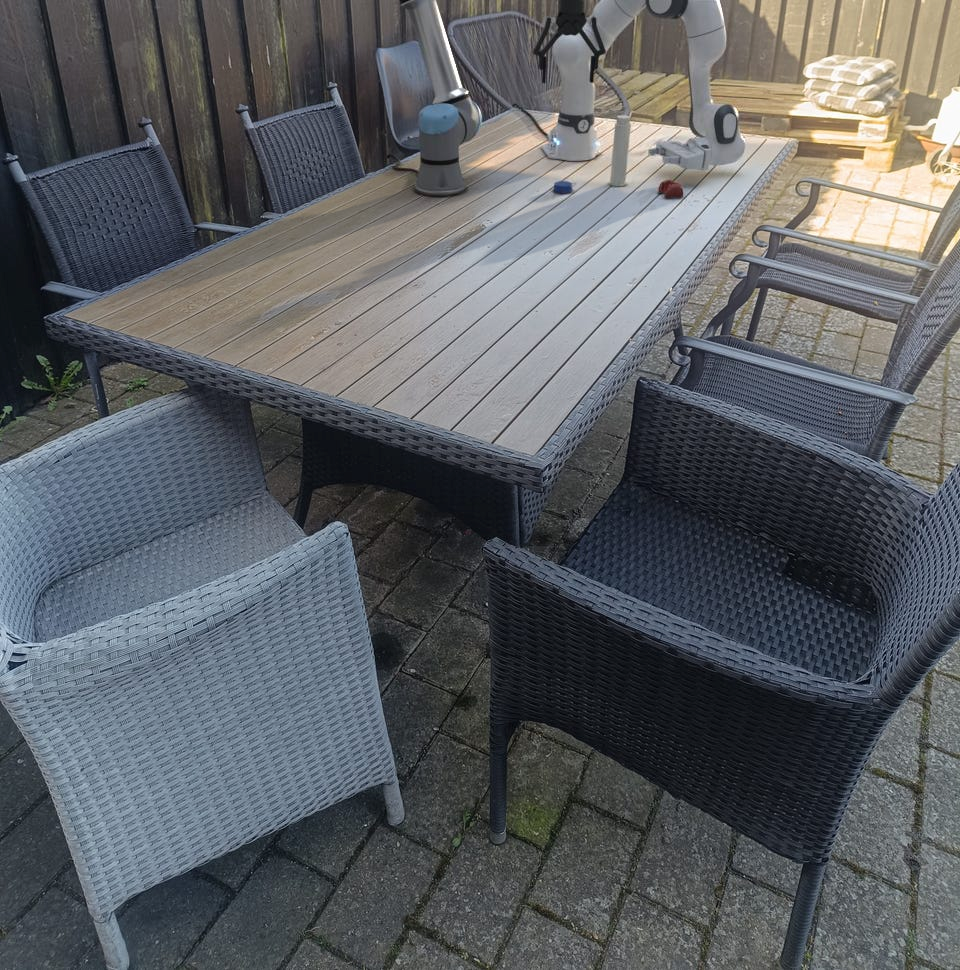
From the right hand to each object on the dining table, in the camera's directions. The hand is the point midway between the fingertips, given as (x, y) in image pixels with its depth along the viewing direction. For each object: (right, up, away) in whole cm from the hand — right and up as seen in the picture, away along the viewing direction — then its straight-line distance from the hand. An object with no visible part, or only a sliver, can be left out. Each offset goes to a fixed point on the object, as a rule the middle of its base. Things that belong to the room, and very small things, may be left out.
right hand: (656, 156), depth 262 cm
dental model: (+3, -15, -8) cm, 17 cm away
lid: (-30, -11, -6) cm, 32 cm away
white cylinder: (-12, -8, +1) cm, 14 cm away
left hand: (-30, +12, -22) cm, 39 cm away
